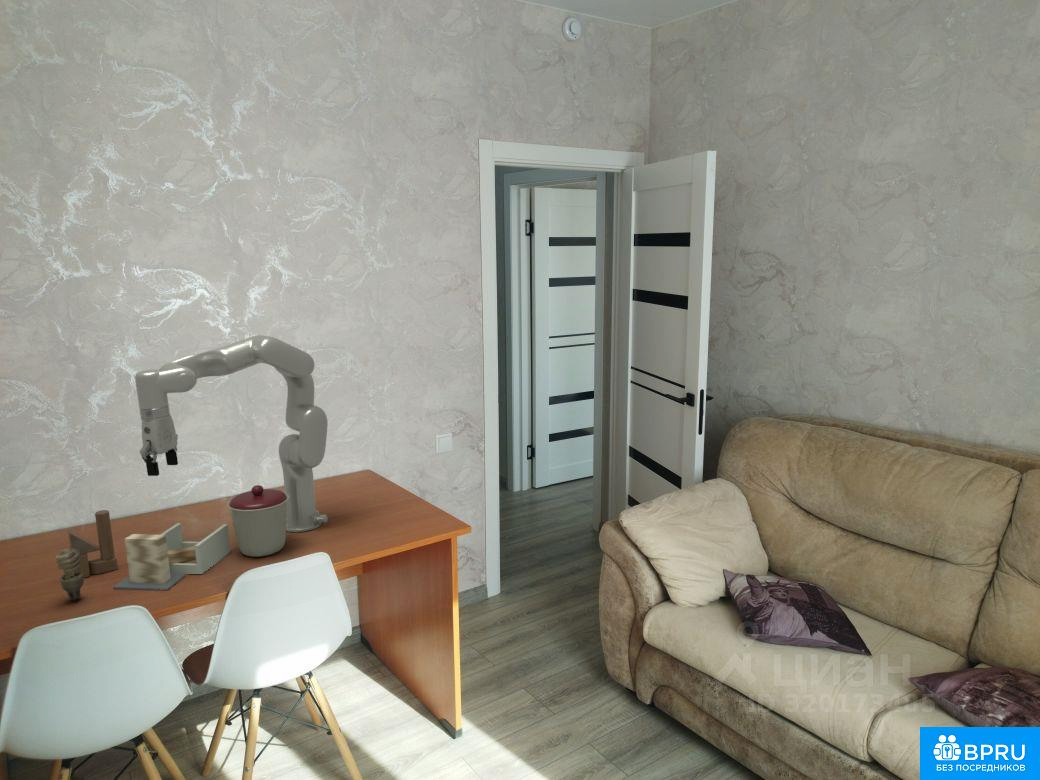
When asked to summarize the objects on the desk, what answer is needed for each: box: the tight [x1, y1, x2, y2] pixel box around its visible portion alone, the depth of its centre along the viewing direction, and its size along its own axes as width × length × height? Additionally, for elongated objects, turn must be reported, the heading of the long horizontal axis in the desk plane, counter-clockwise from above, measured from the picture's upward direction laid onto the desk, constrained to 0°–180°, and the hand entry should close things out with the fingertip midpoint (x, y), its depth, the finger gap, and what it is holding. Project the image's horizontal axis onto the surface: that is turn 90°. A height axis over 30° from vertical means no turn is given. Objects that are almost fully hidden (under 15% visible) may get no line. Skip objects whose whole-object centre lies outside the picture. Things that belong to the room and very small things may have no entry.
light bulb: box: [55, 547, 85, 602], centre depth 195 cm, size 6×6×15 cm
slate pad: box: [112, 574, 187, 591], centre depth 206 cm, size 16×9×1 cm, turn 84°
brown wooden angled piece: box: [67, 509, 119, 579], centre depth 212 cm, size 4×11×18 cm, turn 129°
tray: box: [159, 522, 231, 575], centre depth 219 cm, size 16×17×9 cm
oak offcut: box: [168, 546, 196, 565], centre depth 215 cm, size 10×4×3 cm, turn 129°
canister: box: [226, 484, 289, 558], centre depth 225 cm, size 18×18×21 cm
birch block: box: [124, 533, 171, 584], centre depth 205 cm, size 10×4×13 cm, turn 83°
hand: (163, 470), depth 212 cm, fingers open, 9 cm apart
